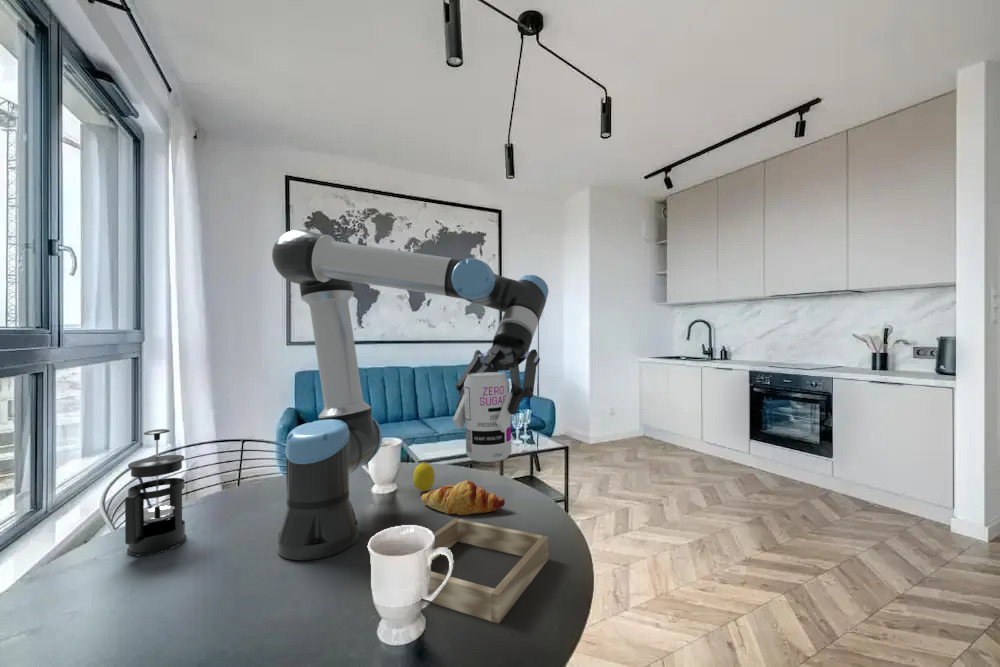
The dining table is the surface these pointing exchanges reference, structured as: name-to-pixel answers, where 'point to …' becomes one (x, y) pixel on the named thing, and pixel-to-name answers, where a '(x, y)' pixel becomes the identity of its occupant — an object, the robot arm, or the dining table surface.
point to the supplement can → (486, 416)
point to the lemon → (423, 477)
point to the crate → (503, 597)
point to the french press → (157, 528)
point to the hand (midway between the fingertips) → (478, 426)
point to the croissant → (462, 499)
